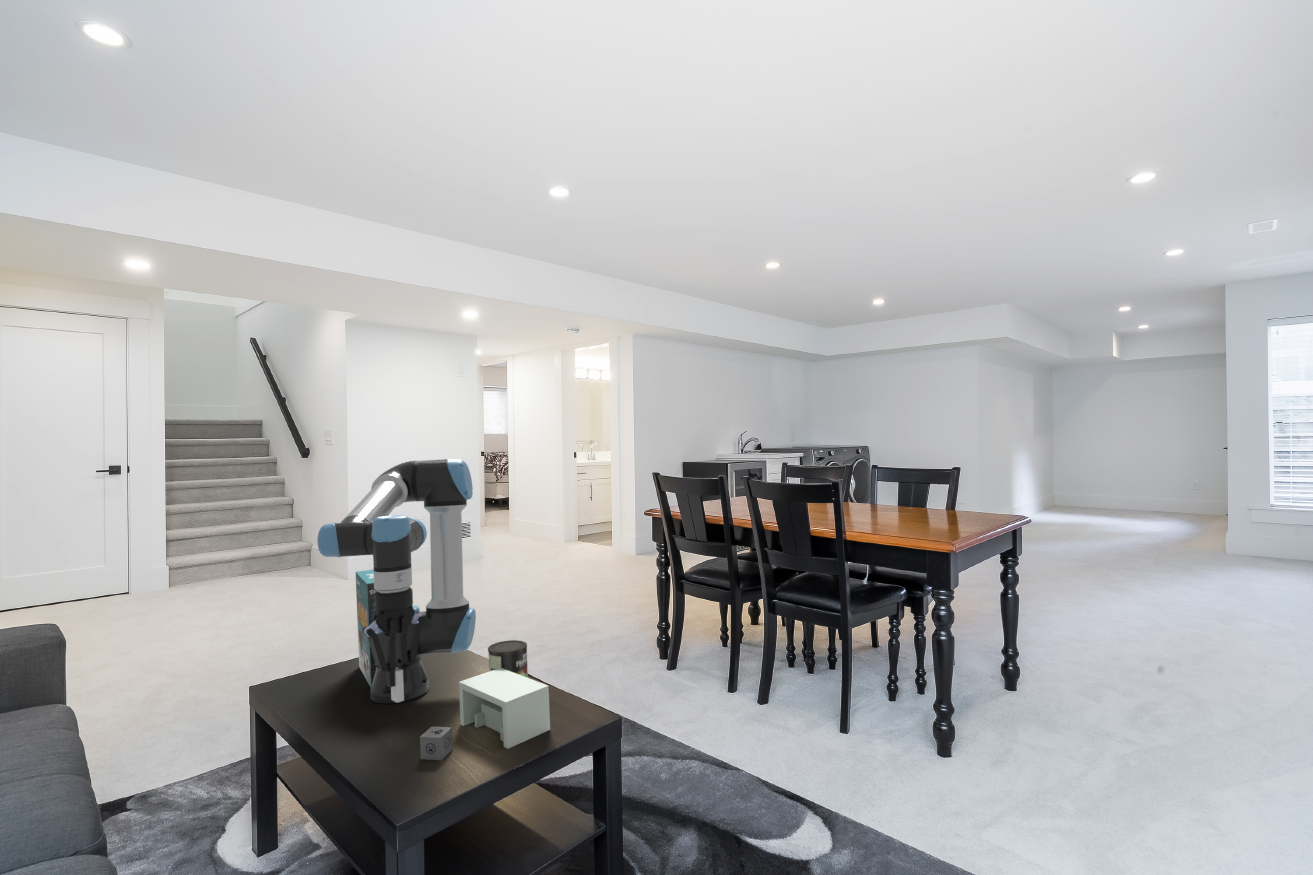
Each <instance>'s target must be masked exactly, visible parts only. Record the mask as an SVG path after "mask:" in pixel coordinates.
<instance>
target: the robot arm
mask: <svg viewBox="0 0 1313 875" xmlns="http://www.w3.org/2000/svg"><path fill="white" fill-rule="evenodd" d="M473 490H474V489H473V480H472V475H471V471H470V468H469V466H468V464H467V462H466V461H464V460H463V459H459V458H458V459H455V458H454V459H453V458H447V459H445V458H443V459H428V460H410V461H405V462H401V463H399V464H397V465H395V466H392V467H391V468H389V469H387V470H386V471H384V472H383V473H381V474H380V475H379V476H378V477H377V478H375V480H374V481H373V482H372V484H371V488H370V491H369V492H368V493H367V494H365V496H364V497H363V498H362V499H361V500H360V501H359V502H358V504H356V505H355V506H354V507H353V509H352V510H350V511H349V513H348V514H347V515H346V516H345V517H344V518H343V519H342V520H341V521H340V522H332V523H327V524H326V523H325V524H323V525H322V526H321V527H320V529H319V530H318V533H317V548H318V551H319V553H320V554H321V555H322V556H323V557H325V558H326V557H327V558H331V557H332V558H342V557H346V558H347V557H359V556H372V559H373V560H372V561H373V569H374V589H375V590H377V591H376V592H375V594H374V597H375V616H374V619H373V621H374V622H373V623H372V624H371V625H369V626H368V627H364V628H363V630H362V631H363V633H364V634H365V635H366V636H367V637H368V640H369V644H370V647H371V650H372V654H373V657H374V660H375V664H376V672H375V675H374V679H373V682H372V686H371V687H370V701H373V702H374V703H376V704H377V703H378V704H398V703H403V702H407V701H411V700H414V699H416V698H419V697H421V696H423V695H424V694H426V693H427V692H428V691H429V687H430V686H429V683H430V682H429V678H428V676H427V673H426V671H425V668H424V666H423V663H422V655H430V654H431V655H433V654H454V653H460V652H465V651H467V650H468V649H469V648H470V647H471V645H472V642H473V638H474V635H475V630H476V618H477V616H476V609H475V608H472V607H470V601H469V600H468V599H467V598H466V597H465V596H464V568H463V566H464V565H463V524H462V521H463V519H462V516H463V515H462V512H463V511H464V509H465V508H466V507H467V506H468V505H467V504H468V503H467V502H468V501H469V500H471V499H472V498H473V493H474V492H473ZM409 502H411V503H412V502H413V503H414V502H423V508H424V509H425V510H426V511H427V512H428V513H429V530H430V531H429V538H430V585H431V586H430V589H431V590H430V591H431V592H430V593H431V599H430V600H429V602H427V603H426V605H425V611H421V610H420V607H419V606H418V605H414V598H413V595H414V594H413V593H414V592H413V588H412V587H411V586H412V585H413V572H412V553H413V552H414V551H417V550H419V549H420V548H421V546H422V545H424V543H425V541H426V539H427V536H428V531H427V528H426V526H425V524H424V523H423V522H422V521H421V520H419V519H417V518H412V517H409V516H407V515H403V514H392V515H390V514H391V513H392V512H393V510H395V509H396V508H397V507H400V506H401V505H403V504H404V503H409Z"/></svg>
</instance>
